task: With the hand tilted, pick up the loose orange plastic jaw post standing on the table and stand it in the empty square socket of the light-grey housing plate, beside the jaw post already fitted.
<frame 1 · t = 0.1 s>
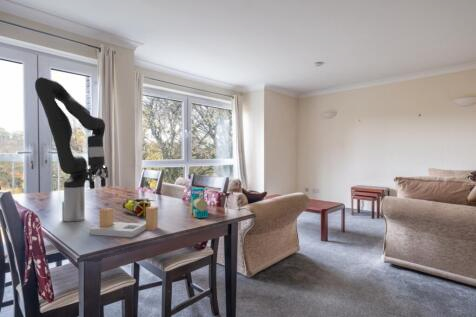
hand: (98, 187, 140), 17 cm above the table, tool pointing down, fingers open, 8 cm apart
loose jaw: (151, 228, 129), on the table
teal food carton: (199, 215, 157), on the table
housing: (118, 231, 123), on the table
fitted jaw: (106, 230, 124), resting in housing
toy: (138, 213, 160), on the table
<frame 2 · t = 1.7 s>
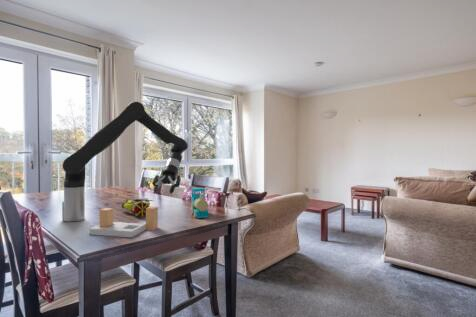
hand: (162, 192, 140), 15 cm above the table, tool tilted 45°, fingers open, 8 cm apart
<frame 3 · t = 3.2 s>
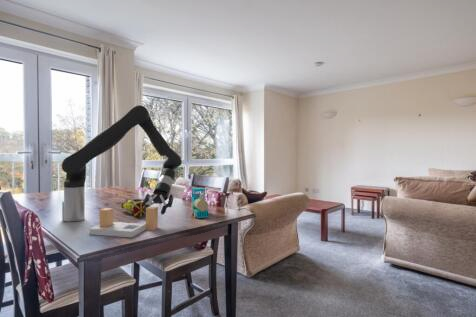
hand: (153, 213, 130), 7 cm above the table, tool tilted 45°, fingers open, 8 cm apart
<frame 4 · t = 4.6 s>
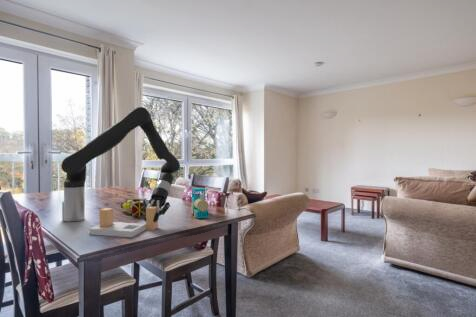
hand: (150, 220, 127), 4 cm above the table, tool tilted 45°, fingers closed on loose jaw, 4 cm apart
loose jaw: (151, 228, 129), on the table, touching gripper
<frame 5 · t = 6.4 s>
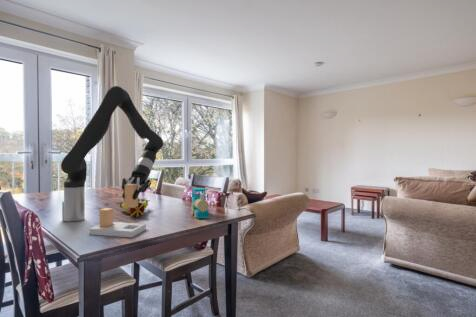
hand: (128, 198, 120), 16 cm above the table, tool tilted 45°, fingers closed on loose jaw, 4 cm apart
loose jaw: (131, 206, 122), point 12 cm above the table, touching gripper
when the fingers open (7 cm above the table, at t = 8.4 s): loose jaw drops 3 cm, resting in housing.
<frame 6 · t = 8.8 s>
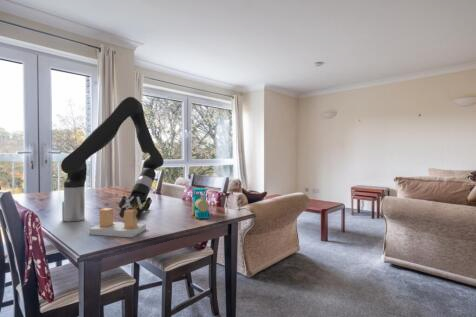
hand: (129, 217, 120), 7 cm above the table, tool tilted 45°, fingers open, 7 cm apart
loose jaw: (130, 232, 122), resting in housing
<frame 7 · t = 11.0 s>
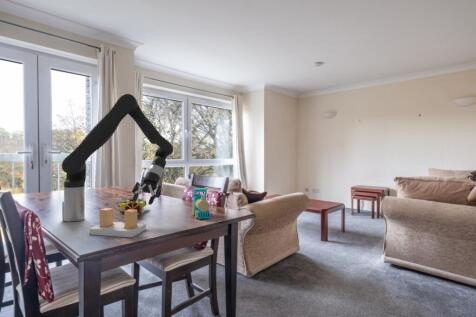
hand: (141, 202, 135), 11 cm above the table, tool tilted 35°, fingers open, 8 cm apart
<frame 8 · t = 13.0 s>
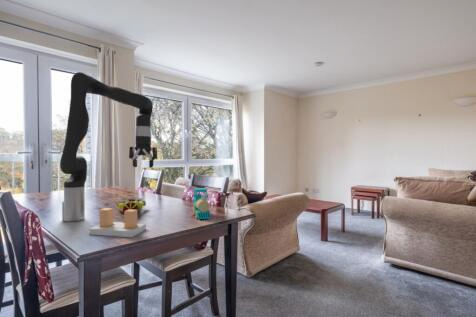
hand: (143, 167, 140), 28 cm above the table, tool pointing down, fingers open, 8 cm apart
at the end: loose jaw 0.0 cm from the target spot on the housing, point 0.0 cm above the housing's base; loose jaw tilted 0°; the gripper is holding nothing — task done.
